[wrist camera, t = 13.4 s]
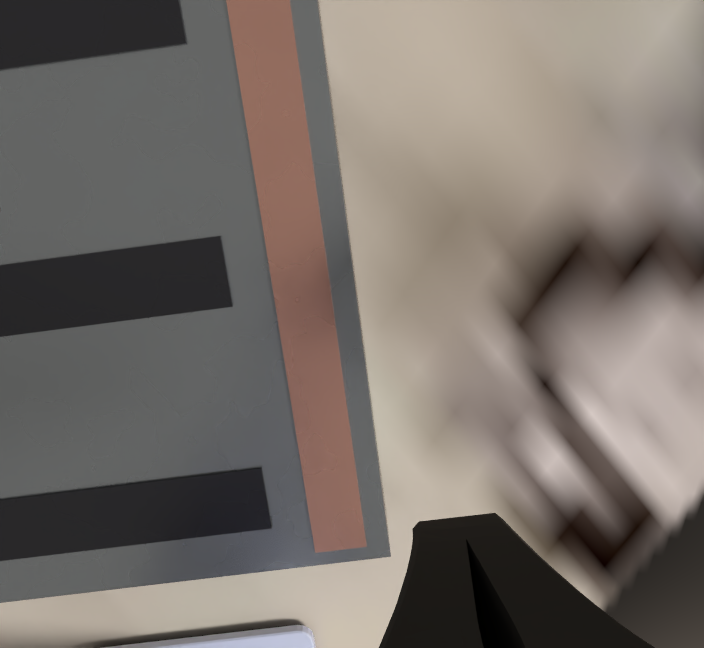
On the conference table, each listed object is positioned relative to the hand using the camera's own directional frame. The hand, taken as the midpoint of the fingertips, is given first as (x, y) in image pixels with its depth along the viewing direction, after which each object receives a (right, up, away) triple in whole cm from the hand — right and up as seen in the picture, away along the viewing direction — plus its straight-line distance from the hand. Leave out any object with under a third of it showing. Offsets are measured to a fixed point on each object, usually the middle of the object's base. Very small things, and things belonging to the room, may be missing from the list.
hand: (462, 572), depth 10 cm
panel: (-14, +4, +10) cm, 17 cm away
